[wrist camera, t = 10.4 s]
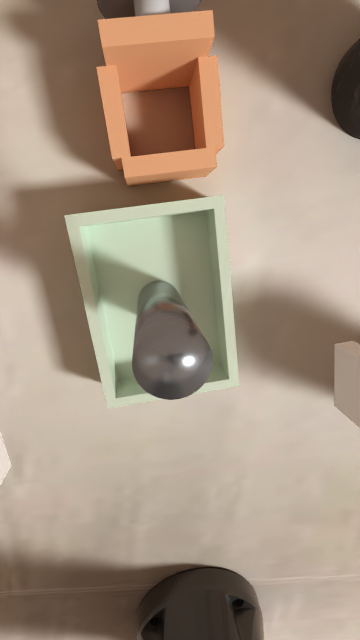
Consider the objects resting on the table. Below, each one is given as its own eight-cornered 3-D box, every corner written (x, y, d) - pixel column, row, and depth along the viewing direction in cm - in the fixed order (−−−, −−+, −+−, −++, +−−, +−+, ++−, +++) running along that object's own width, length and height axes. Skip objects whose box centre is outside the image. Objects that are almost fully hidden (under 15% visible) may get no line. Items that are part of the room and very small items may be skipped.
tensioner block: (213, 175, 25) (241, 153, 18) (120, 186, 24) (109, 168, 17) (198, 12, 22) (225, -96, 14) (92, 21, 21) (65, -86, 14)
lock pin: (182, 318, 27) (216, 392, 14) (141, 325, 27) (139, 405, 14) (177, 277, 26) (208, 318, 13) (134, 283, 26) (125, 331, 13)
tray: (227, 366, 30) (239, 386, 26) (112, 386, 29) (107, 408, 25) (212, 199, 25) (224, 194, 22) (76, 217, 24) (64, 215, 21)
